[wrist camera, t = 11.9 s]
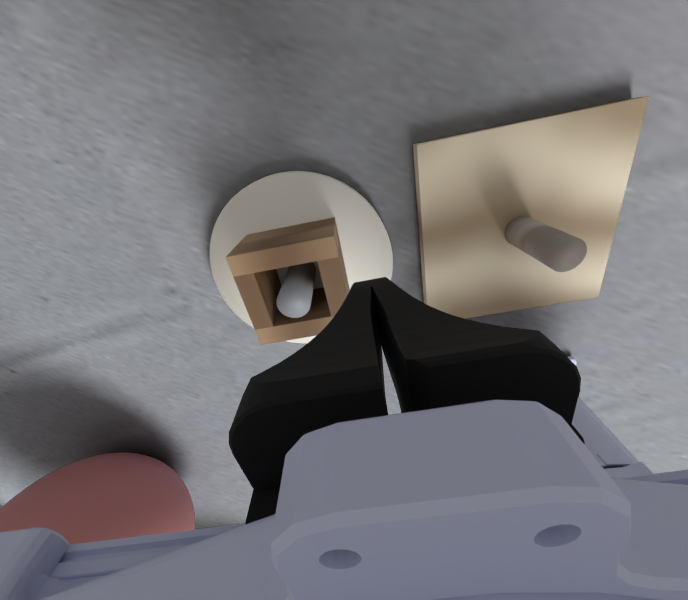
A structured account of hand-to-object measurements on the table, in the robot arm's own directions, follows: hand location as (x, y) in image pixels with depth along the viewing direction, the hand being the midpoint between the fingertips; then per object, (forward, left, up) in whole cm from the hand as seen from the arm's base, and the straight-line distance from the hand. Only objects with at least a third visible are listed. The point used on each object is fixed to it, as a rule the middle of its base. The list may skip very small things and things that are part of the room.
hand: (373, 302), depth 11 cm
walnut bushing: (-1, +4, -8) cm, 9 cm away
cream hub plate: (-1, +4, -9) cm, 10 cm away
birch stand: (-1, -10, -9) cm, 14 cm away
